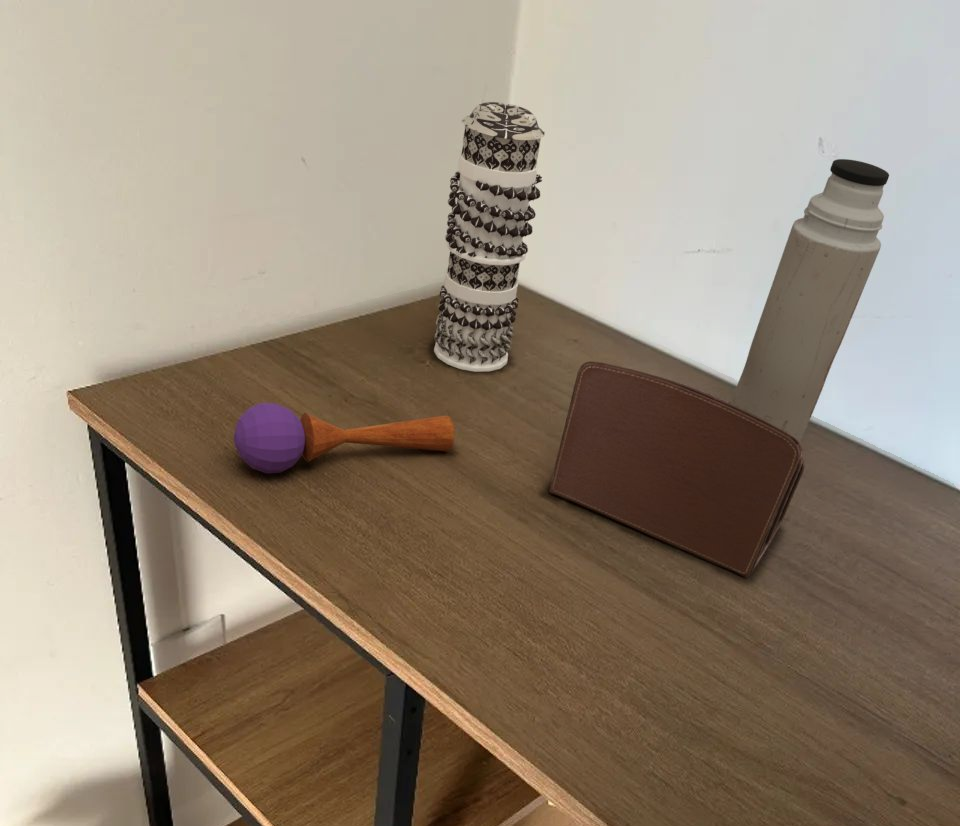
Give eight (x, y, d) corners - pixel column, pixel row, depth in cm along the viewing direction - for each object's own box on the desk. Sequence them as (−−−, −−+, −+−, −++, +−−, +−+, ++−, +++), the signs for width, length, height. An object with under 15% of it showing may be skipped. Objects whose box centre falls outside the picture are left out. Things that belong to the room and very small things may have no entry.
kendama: (466, 429, 87) (247, 435, 78) (449, 478, 92) (240, 489, 83) (443, 387, 90) (230, 388, 82) (428, 436, 95) (224, 442, 86)
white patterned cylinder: (527, 358, 110) (572, 117, 93) (477, 381, 104) (516, 128, 87) (465, 329, 113) (498, 91, 97) (414, 349, 107) (439, 100, 91)
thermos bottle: (794, 442, 103) (907, 165, 85) (791, 478, 98) (912, 188, 79) (721, 423, 104) (817, 144, 86) (714, 457, 98) (815, 166, 80)
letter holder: (748, 580, 83) (808, 437, 74) (546, 494, 89) (578, 350, 79) (780, 529, 90) (838, 392, 81) (590, 452, 96) (624, 315, 86)
